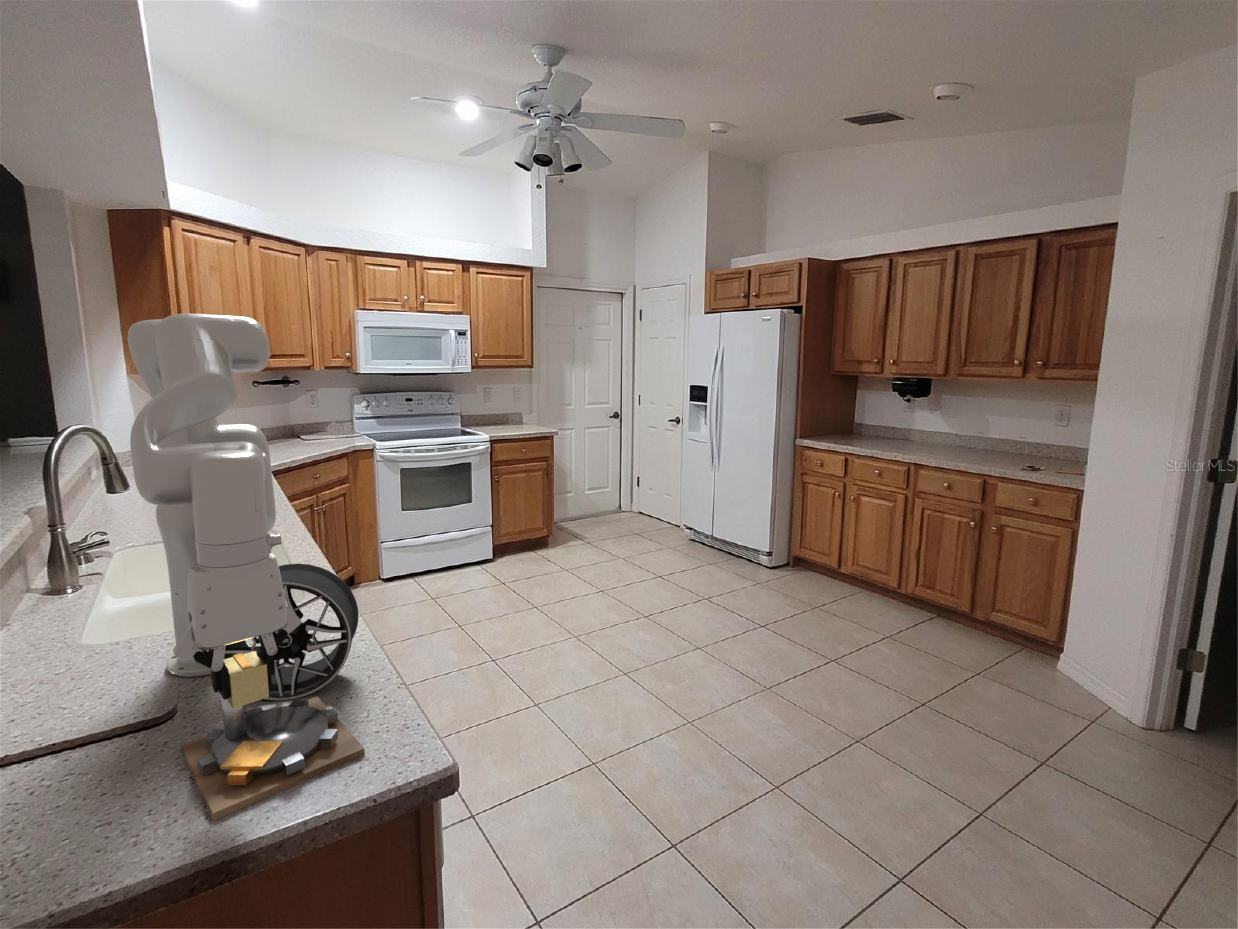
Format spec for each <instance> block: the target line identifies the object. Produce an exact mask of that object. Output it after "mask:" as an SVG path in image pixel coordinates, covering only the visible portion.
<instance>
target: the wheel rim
mask: <svg viewBox="0 0 1238 929" xmlns="http://www.w3.org/2000/svg"><path fill="white" fill-rule="evenodd" d="M278 566H279V570H280V574H281V578H282V583H283V588H284V594H285V600H286V606H287V607H289V608H290V609H291V610H292V611H293V612H294V613H295V614H296V615H297V616H298V617H299V618H300V619H301V620H302V618H303V617H304V614H303V612H302V610H301V609H302V608H304V607H306V606H308V605H310V604H312V603H315V602H316V601H319V600H322V601H323V602H325V603H326V604H325V606H324V608H323V610H322V613H321V615H320V617H319V619H318V620H317V621H316V620H313V619H310V618H307V619H306V620H305V621H303V622H302V621H301V624H300V625H299V626H298V627H297V628H295V629H294V630H293V631H292V632H291V633H289V634H288V636H287V637H286V638H285V640H284V641H283V642H282V643H281V644H280V646H279V647H278V648H277V652H276V653H275V654H274V662H275V674H274V675H271V680H272V685H269V686H268V689H269V697H267V698H264V699H263V700H268V701H288V700H293V699H294V700H296V699H298V698H302V697H305V696H309V695H311V694H313V693H316V692H317V691H319V690H321V689H322V688H324V687H326V685H328V684H329V683H330V682H331V681H332V680H333V679H334V678H335V677H336V676H337V675H338V674H339V673H340V671H341V670H342V669H343V668H344V666H345V664H346V661H347V660H348V657H349V654H350V650H351V648H352V643H353V642H352V641H353V639H354V637H355V635H356V632H357V629H358V626H359V624H358V623H359V617H360V616H359V606H358V603H357V599H356V598H355V595H354V593H353V592H352V589H351V588H350V586H348V585H347V583H346V582H345V581H344V580H343V579H341V578H340V577H339V576H338V575H336V574H335V573H333V572H332V571H330V570H327V569H326V568H324V567H321V566H317V565H314V564H313V565H312V564H308V563H307V564H306V563H288V564H287V563H286V564H282V565H281V564H280V565H278ZM291 590H298V591H304V592H306V593H309V594H312V595H314V596H316V597H313V598H310V599H309V600H307V601H305V602H303V603H301V604H299V605H297V603H296V601H295V600H294V598H293V595H292V591H291ZM329 607H330V609H331V610H332V611H333V612H334V614H335V615H336V617H337V619H338V623H339V626H331V625H327V624H324V623H322V622H323V619H324V617H325V615H326V613H327V610H328V609H329ZM309 631H313V632H312V633H309ZM317 632H321V633H328V634H339V633H340V637H339V638H333V639H326V640H318V639H317V637H316V634H317ZM311 639H312V640H311ZM251 641H252V642H253V643H252V645H251V646H250V647H249V646H248V645H247V643H246V642H247V640H244V641H240V642H236V643H232V644H229V645H226V648H225V655H224V659H227V658H231V657H233V655H236V654H240V653H242V654H245V653H249V652H252V651H256V653H257V652H258V649H260V646H261V645H260V642H259V639H258V637H255V638H251ZM257 644H258V645H257ZM259 645H260V646H259ZM333 645H336V646H335V648H334V649H332V650H331V652H329V653H328V654H327V653H326V652H325V650H324V648H326V647H329V646H333ZM315 651H318V652H320V654H321V656H322V658H320V659H318V660H316V661H314V662H312V663H308V664H304V665H303V663H304V661H305V658H306V656H307V653H312V652H315ZM306 652H307V653H306ZM290 659H291V660H294V662H292V661H291V660H290ZM280 660H283V662H281V663H280Z"/></svg>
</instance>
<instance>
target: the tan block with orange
mask: <svg viewBox="0 0 1238 929" xmlns="http://www.w3.org/2000/svg"><path fill="white" fill-rule="evenodd" d="M224 663H225V665H226V667H227V668H228V671H229V672H228V677H229V689H230V697H229V698H228V699H227V701H228V702H229V704H230V705H231V707H232V708H233V709H234V708H237V707H240V706H243V707H244V706H246V705H249V704H252V703H255V702H257V701H258V702H259V701H261V700H265V699H264V698H267V697H269V689H268V676H267V664H266V663H265V662H264V661H263V660H262V659H261V658H260V657H259V656H258V655H257V653H256V651H252V652H249V653H245V654H242V653H240V654H236V655H233V657H231V658H227V659H224Z"/></svg>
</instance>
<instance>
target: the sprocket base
mask: <svg viewBox="0 0 1238 929" xmlns="http://www.w3.org/2000/svg"><path fill="white" fill-rule="evenodd" d="M307 700H308V703H309V707H312V708H315V709H318V710H320V711H321V710H323V709H326V708H328V707H327V705H326V704H324V702H323V701H322V700H321V699H320V698H319V697H318V696H315V697H312V698H309V699H307ZM328 729H338V739H337V740H336V742H335V743H334V745H333V746H332V748H319V749H318V750H317V751H316V752H315V753H313V754H312V755H311V756H309V757H308V758H306V759H305V760H304V762H305V768H303V769H301V770H298V771H296V772H294V773H292V774H289V775H286V774H285V773H284V771H283V770H280V771H277V772H274V773H270V774H265V775H260V776H253V778H252V779H251V780H250V781H249V782H248V784H247V785H228V775H226V774H223V773H221V772H219V771H218V770H217V771H214V772H212V773H209V774H207V775H204V776H203V775H202V774H201V772H200V770H199V768H198V760H197V758H200V757H202V756H205V755H207V754H210V753H212V751H211V749H212V748H205V745H204V738H205V737H206V736H207V735H208V734H206V735H204V736H200V737H197V738H195V739H193V740H190V741H186V742H184V743H181V744H180V748H181V753H182V756H183V758H184V759H185V761H186V763H187V766H188V768H189V770H190V772H191V774H192V777H193V779H194V780H195V783H196V785H197V787H198V789H199V792H200V794H201V796H202V798H203V800H204V803H205V805H206V808H207V810H208V812H209V814H210V816H211V818H212V820H213V821H216V820H218V819H221V818H223V817H226V816H228V815H230V814H233V813H235V812H237V811H239V810H242V809H244V808H246V807H249V806H251V805H253V804H256V803H257V802H260V801H262V800H264V799H267V798H269V797H272V796H273V795H277V794H278V793H280V792H283V791H285V790H287V789H290V788H292V787H294V786H296V785H299V784H301V783H303V782H305V781H308V780H310V779H313V778H315V777H317V776H319V775H321V774H324V773H326V772H328V771H331V770H333V769H335V768H337V767H340V766H342V765H344V764H347V763H348V762H351V761H354V760H355V759H358V758H360V757H362V756H364V755H366V752H365V746H363V745H362V744H361V743H360V742H359V740H358V739H356V737H355V736H354V735H353V734H352V732H351V731H350V730H348V728H347V727H346V726H345V725H344V724H343V723H342V722H341V721H340V720H339V719H338V721H336V722H334V723H332V724H329V725H328Z"/></svg>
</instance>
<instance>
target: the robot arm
mask: <svg viewBox="0 0 1238 929" xmlns="http://www.w3.org/2000/svg"><path fill="white" fill-rule="evenodd" d="M127 345H128V350H129V353H130V356H131V359H132V362H133V364H134V366H135V368H136V370H137V372H138V374H139V376H140V377H141V379H142V381H143V382H144V384H145V386H146V388H147V390H148V391H149V393H150V396H151V399H150V400H149V401H148V402H146V404H145V405H144V406H143V407H142V409H141V410H140V411H139V413H138V414H137V416H136V417H135V420H134V421H133V423H132V426H131V431H130V438H129V439H130V440H129V441H130V442H129V444H130V445H129V446H130V454H131V461H132V462H131V464H132V469H133V477H134V482H135V486H136V488H137V491H138V493H139V495H140V497H141V498H143V500H145V502H147V503H149V504H152V505H155V506H156V508H155V519H156V523H157V526H158V529H159V533H160V538H161V540H162V544H163V548H164V553H165V559H166V565H167V572H168V583H169V591H170V598H171V599H170V601H171V610H172V619H173V628H174V631H173V632H174V641H175V645H174V647H173V649H172V652H173V654H172V655H171V656H170V657H169V658H168V659H167V661H166V669H167V668H168V670H169V671H172V672H174V673H175V674H177V675H178V676H177V677H184V678H191V677H200V676H201V677H202V676H208V675H211V686H212V690H213V692H214V693H219V695H220V697H221V696H222V698H223V699H224V700H225V699H228V698H229V697H230V689H229V677H228V672H229V671H228V668H227V667H226V665H225V663H224V655H225V648H226V645H229V644H232V643H236V642H240V641H244V640H245V641H246V643H247V645H248V646H249V647H251V644H250V643H249V642H247V640H250V639H251V638H255V637H256V638H258V639H259V642H260V643H259V645H260V649H258V652H257V655H258V656H259V657H260V658H261V659H262V660H263V661H264V662H265V663H266V664H267V676H268V686H269V685H272V680H271V675H274V674H275V662H274V654H275V653H276V652H277V648H278V647H279V646H280V644H281V643H282V642H283V641H284V640H285V638H286V637H287V636H288V634H289V633H291V632H292V631H293V630H294V629H295V628H297V627H298V626H299V625H300V624H301V622H302V618H301V619H300V618H299V617H298V616H297V615H296V614H295V613H294V612H293V611H292V610H291V609H290V608H289V607H288V606H287V602H286V599H285V592H284V588H283V583H282V578H281V574H280V570H279V566H280V565H279V564H278V561H277V560H278V559H277V557H276V555H275V554H274V553H273V552H272V550H273V547H275V546H279V545H281V544H282V537H281V534H280V533H277V534H274V533H272V534H270V531H272V529H273V528H274V526H275V524H276V516H277V515H276V514H277V512H276V511H277V510H276V499H275V491H274V482H273V472H272V463H271V462H272V461H271V455H270V448H269V447H270V446H269V443H268V440H267V438H266V436H265V434H264V432H263V430H262V429H260V428H259V426H256V425H253V424H248V423H247V424H246V423H236V424H235V423H234V424H233V423H232V424H230V423H229V424H220V423H219V422H218V419H217V417H219V416H220V415H223V414H224V413H225V412H227V411H228V410H229V409H231V407H232V406H233V405H234V404H235V403H236V402H235V401H236V399H237V397H238V394H237V393H238V392H237V386H236V383H235V380H234V377H233V374H247V373H259V372H261V371H263V370H265V369H266V367H267V366H268V364H269V360H270V355H271V349H270V341H269V338H268V334H267V332H266V330H265V328H263V326H262V325H261V323H260V322H258V321H257V320H256V319H254V318H252V317H247V316H239V315H225V314H224V315H221V314H211V313H209V314H208V313H189V312H187V313H184V312H183V313H176V314H171V315H169V316H166V317H164V318H160V319H159V318H156V319H145V320H140V321H137V322H135V323H133V324H132V325H131V326H130V327H129V329H128V331H127ZM251 640H252V639H251ZM168 670H167V671H168Z"/></svg>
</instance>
